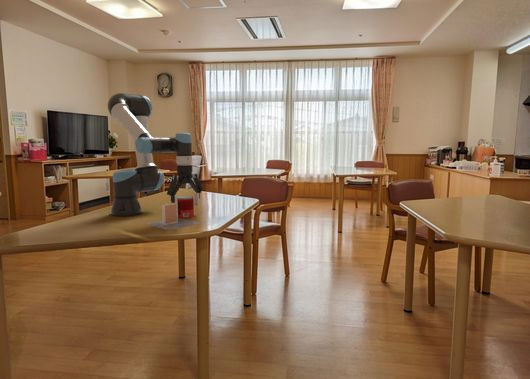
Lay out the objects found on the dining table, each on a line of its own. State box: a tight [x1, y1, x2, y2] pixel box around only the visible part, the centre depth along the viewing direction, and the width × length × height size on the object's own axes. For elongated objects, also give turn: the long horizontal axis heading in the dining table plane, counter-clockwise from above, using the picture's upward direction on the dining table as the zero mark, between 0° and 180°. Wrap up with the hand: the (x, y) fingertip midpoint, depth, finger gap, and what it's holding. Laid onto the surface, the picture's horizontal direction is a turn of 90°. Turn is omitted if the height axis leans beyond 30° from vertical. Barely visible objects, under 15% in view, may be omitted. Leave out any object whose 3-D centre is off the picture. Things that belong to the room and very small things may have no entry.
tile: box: [161, 202, 178, 225], centre depth 168 cm, size 2×7×9 cm, turn 140°
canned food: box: [177, 195, 195, 219], centre depth 184 cm, size 8×8×11 cm
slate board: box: [146, 217, 201, 231], centre depth 168 cm, size 18×18×1 cm
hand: (186, 207), depth 184 cm, fingers open, 13 cm apart
